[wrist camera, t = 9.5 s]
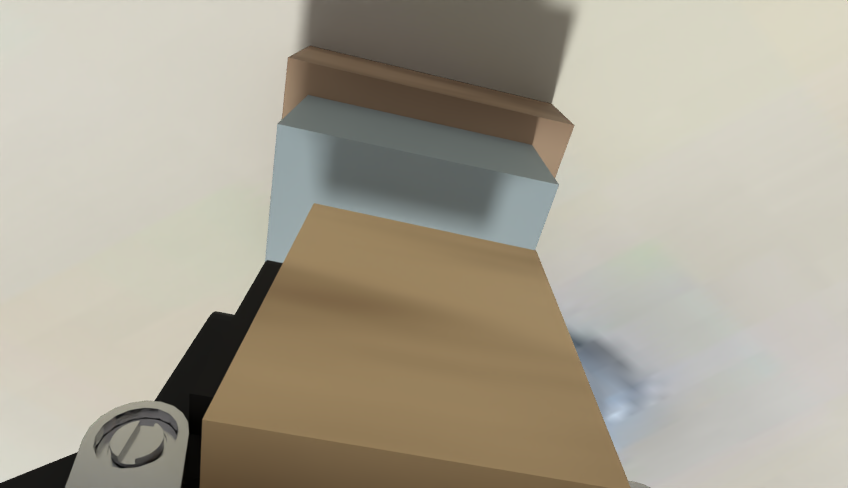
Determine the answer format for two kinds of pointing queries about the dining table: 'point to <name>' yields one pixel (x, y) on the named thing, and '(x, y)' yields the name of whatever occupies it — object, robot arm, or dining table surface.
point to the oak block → (406, 370)
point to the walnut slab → (427, 100)
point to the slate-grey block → (404, 175)
